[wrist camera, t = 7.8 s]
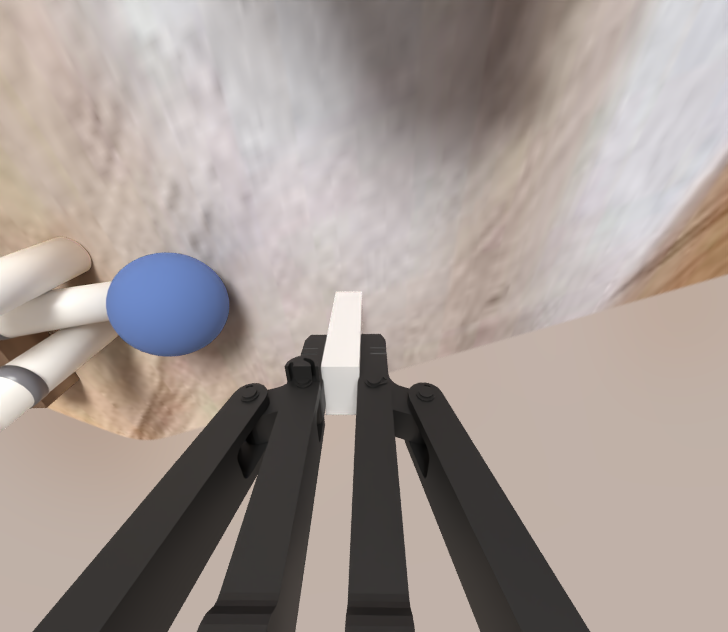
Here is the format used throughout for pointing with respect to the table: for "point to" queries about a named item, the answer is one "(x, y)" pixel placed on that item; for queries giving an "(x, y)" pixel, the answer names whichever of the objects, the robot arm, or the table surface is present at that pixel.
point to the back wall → (14, 347)
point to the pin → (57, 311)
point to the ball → (167, 304)
